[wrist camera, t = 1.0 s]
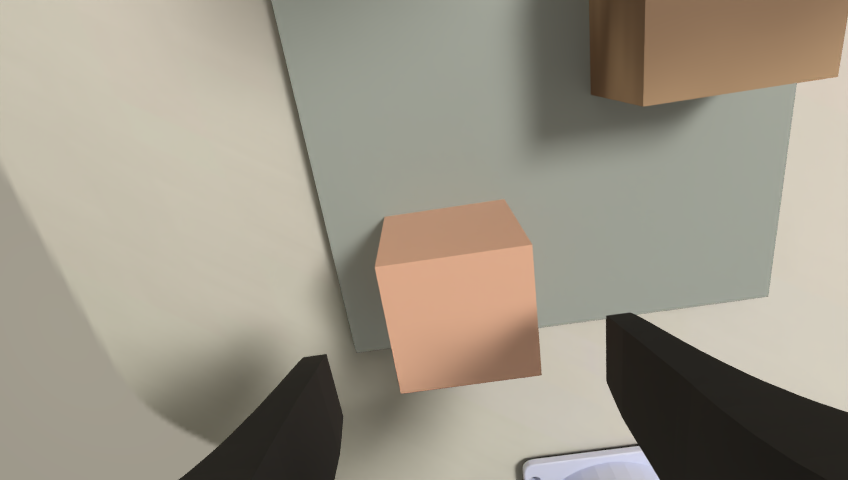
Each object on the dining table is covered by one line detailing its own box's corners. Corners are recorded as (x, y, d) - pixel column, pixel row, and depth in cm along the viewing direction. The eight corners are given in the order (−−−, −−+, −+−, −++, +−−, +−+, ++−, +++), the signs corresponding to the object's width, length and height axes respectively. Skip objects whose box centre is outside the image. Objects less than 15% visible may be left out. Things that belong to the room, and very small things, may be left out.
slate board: (758, 289, 20) (768, 296, 19) (357, 344, 20) (356, 352, 20) (812, -148, 14) (828, -157, 14) (263, -54, 15) (257, -58, 14)
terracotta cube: (514, 304, 19) (541, 375, 15) (404, 320, 19) (400, 393, 15) (504, 199, 17) (532, 244, 13) (384, 216, 18) (374, 267, 13)
